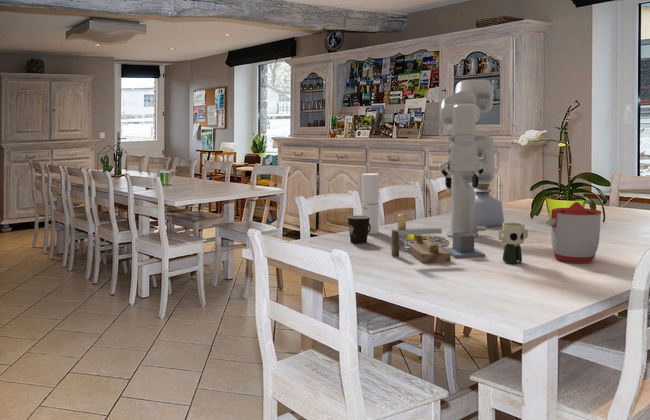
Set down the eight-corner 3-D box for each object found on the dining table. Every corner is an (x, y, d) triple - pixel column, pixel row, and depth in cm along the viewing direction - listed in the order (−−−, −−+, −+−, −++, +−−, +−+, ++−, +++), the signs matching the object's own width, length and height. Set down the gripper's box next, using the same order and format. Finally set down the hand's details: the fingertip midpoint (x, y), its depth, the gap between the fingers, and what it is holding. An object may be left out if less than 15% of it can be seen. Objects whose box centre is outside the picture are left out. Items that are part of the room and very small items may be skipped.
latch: (439, 232, 210) (439, 213, 209) (441, 233, 207) (442, 214, 206) (397, 233, 208) (397, 214, 207) (398, 234, 205) (399, 215, 204)
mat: (471, 249, 227) (471, 246, 227) (485, 256, 214) (485, 254, 214) (442, 250, 225) (442, 247, 225) (454, 258, 213) (455, 255, 213)
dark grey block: (465, 248, 224) (466, 232, 223) (474, 252, 216) (474, 236, 215) (452, 248, 223) (453, 232, 222) (460, 253, 215) (460, 236, 215)
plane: (429, 247, 230) (429, 223, 229) (450, 262, 207) (451, 235, 206) (384, 249, 228) (384, 225, 227) (401, 263, 205) (401, 237, 203)
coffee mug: (346, 240, 246) (346, 215, 245) (367, 239, 247) (367, 215, 246) (350, 246, 235) (350, 220, 234) (372, 245, 236) (372, 219, 234)
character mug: (503, 266, 201) (504, 226, 199) (492, 261, 207) (493, 223, 206) (532, 263, 204) (534, 224, 202) (520, 259, 210) (521, 221, 208)
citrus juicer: (539, 254, 217) (541, 198, 214) (590, 255, 215) (593, 198, 212) (550, 265, 201) (553, 204, 199) (605, 265, 200) (609, 204, 197)
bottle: (503, 221, 291) (504, 181, 288) (505, 228, 272) (506, 185, 269) (459, 219, 295) (460, 180, 293) (458, 226, 276) (459, 184, 274)
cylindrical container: (377, 234, 260) (377, 174, 256) (360, 233, 261) (360, 174, 258) (379, 231, 267) (379, 173, 263) (363, 230, 268) (363, 173, 264)
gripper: (442, 140, 212) (441, 190, 215) (490, 139, 214) (489, 188, 217) (435, 139, 219) (435, 187, 222) (482, 138, 222) (480, 185, 224)
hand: (461, 187), depth 220 cm, fingers open, 9 cm apart
